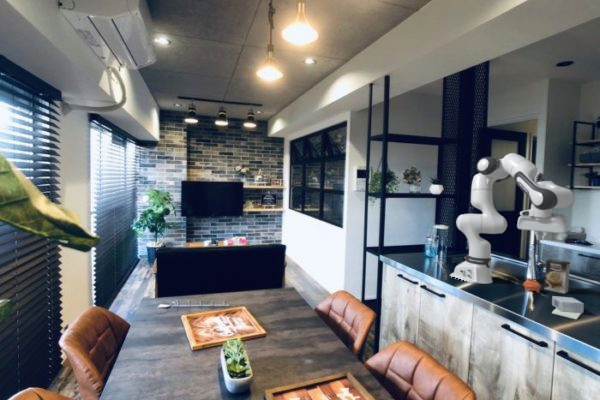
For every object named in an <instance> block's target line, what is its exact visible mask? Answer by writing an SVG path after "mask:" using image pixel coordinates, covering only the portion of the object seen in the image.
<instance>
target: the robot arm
mask: <svg viewBox="0 0 600 400" xmlns="http://www.w3.org/2000/svg"><path fill="white" fill-rule="evenodd" d="M476 171H477V172H478V173H477V174H475V175H474V176H473V179H472V181H471V191H470V203H471V205H472V207H474V208H475V209H477V210H479V211H480V212H482V213H464V214H460V215H458V217H457V218H456V221H455V223H456V224H455V225H456V227H457V229H458V230H459V231H461V232H462V233H463V235H465V237H466V239H467V241H468V242H467V243H468V254H467V255H465V256H464V259H465V261H463V262H461V263H459V264H457V265H456V266H455V268H454V271H453V272H452V273H450V274H449V277H450V276H451V277H450V278H452V277H455V278H454V279H456V278H458V279H457V280H459V279H461V280H460V281H463V280H464V282H466V281H467V282H466V283H469V284H470V283H471V284H484V285H485V284H492V283H494V282H493V279H492V272H491V268H492V267H491V266H492V257H491V252H492V251H491V250H492V249H491V248H492V246H491V245H492V244H491V243H490V242H489V241H488V240H486V239H485V238H482V237H481V236H480V234H488V235H489V234H491V235H496V234H503V233H504V232H505V231H506V229H507V227H508V222H507V219H506V218H505V217H504V216H503V215H501V214H500V213H499V212H498V211H497V209H496V208H495V205H494V202H493V184H494V183H500V182H502V181H506V180H509V179H510V178H511V177H512V178H513V180H514V183H515V184H516V185H517V186H518V187H519V188H520V189H521V191H522V192H523V193H524V194H525V195H526V196H527V197H528V198H529V200H530V202H531V205H530V208H529V209H525V210H522V211H520V212H519V215H520V216H519V217H518V219H517V224H516V228H517V229H518V230H524V231H532V232H533V233H534V234H535V235H534V236H536V240H537V241H545V240H546V239H545V237H546V236H547V235H548V233H554V234H565V233H566V232H567V231H568V230H567V229H568V227H567V226H568V225H567V223H568V216H567V215H565V214H563V213H553V209H565V208H568V207H571V206H573V204H574V202H575V193H574V192H573V191H572V190H571V189H570V188H568V187H567V188H566V187H563V186H559V185H557V184H555V183H554V182H553V181H552V180H539V181H535V182H534V179H536V177H537V174H538V168H537V166H536V165H535V164H534V163H533V162H532V161H530V160H529V159H527V158H526V157H524V156H523V155H520V154H518V153H514V152H511V153H508V154H506V155H504V157H503V158H498V157H497V156H484V157H481V158H479V160H478V161H477V164H476ZM540 232H542V234H543V235H540V234H539V233H540Z"/></svg>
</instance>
